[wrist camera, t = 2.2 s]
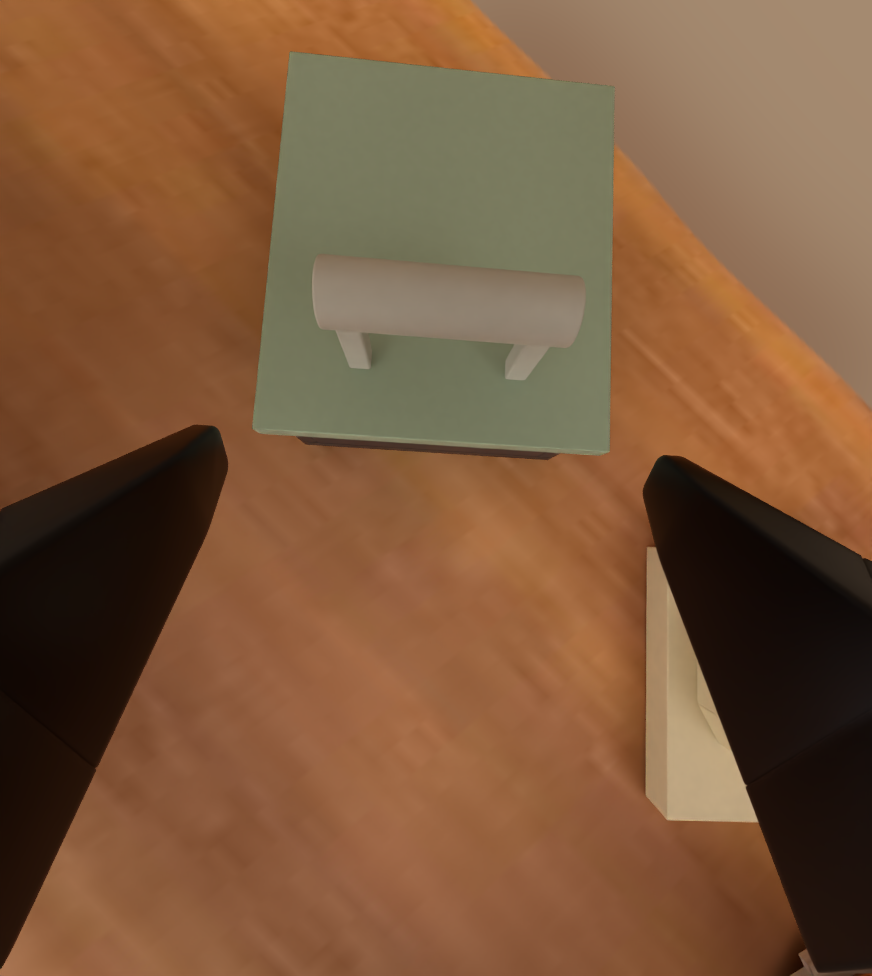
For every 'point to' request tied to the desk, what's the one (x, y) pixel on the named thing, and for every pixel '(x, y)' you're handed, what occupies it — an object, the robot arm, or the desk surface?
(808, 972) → the decorative ornament
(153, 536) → the robot arm
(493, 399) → the cover
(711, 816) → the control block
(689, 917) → the desk surface
